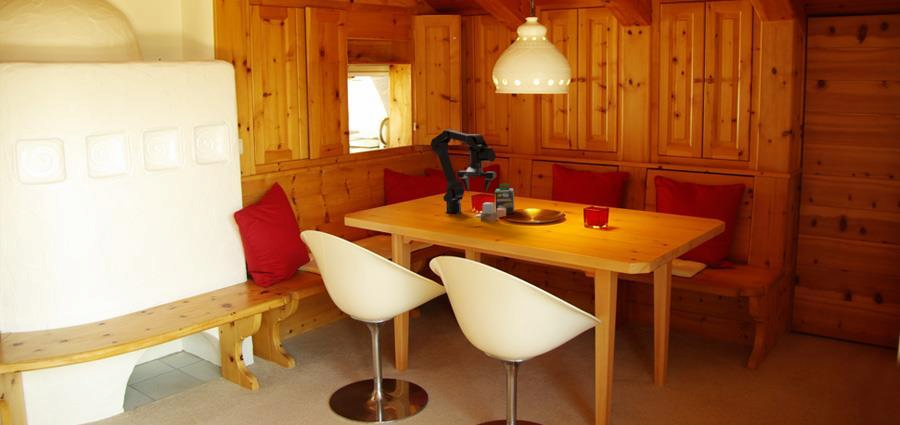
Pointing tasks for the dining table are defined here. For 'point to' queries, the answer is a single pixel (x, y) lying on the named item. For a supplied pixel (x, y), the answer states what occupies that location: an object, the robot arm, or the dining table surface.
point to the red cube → (501, 212)
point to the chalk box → (505, 198)
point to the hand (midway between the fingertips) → (476, 192)
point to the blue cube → (488, 208)
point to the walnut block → (488, 217)
